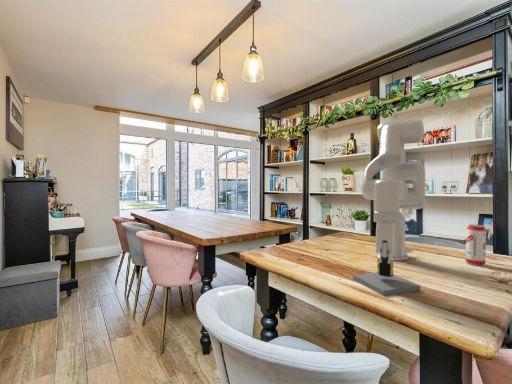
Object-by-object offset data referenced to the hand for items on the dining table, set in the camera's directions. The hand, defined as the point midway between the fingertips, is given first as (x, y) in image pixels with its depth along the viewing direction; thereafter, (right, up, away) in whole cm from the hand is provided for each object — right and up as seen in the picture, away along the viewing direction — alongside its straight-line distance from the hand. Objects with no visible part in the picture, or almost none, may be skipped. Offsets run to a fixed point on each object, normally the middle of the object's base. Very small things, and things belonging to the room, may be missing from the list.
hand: (385, 272), depth 88 cm
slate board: (0, -4, 0) cm, 4 cm away
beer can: (+48, -4, +23) cm, 54 cm away
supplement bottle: (0, -1, 0) cm, 1 cm away
